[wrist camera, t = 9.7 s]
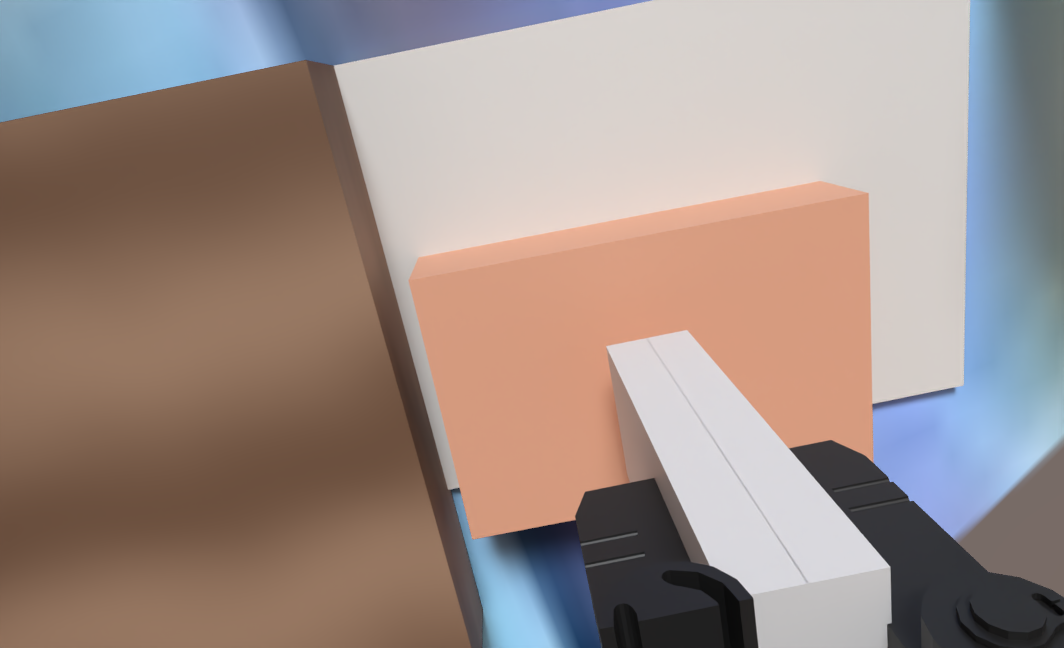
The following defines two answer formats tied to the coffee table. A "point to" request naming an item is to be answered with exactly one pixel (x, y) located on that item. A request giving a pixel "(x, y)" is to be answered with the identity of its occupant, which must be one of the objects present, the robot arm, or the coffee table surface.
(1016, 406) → the coffee table surface
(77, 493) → the board
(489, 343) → the salmon flat rectangular block
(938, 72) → the mat
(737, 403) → the robot arm
